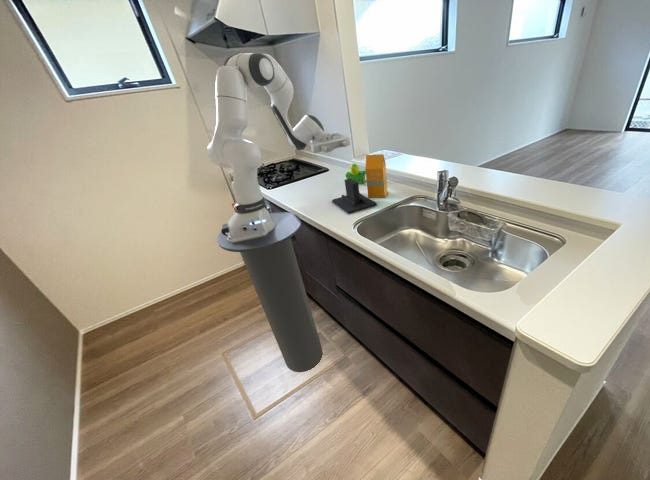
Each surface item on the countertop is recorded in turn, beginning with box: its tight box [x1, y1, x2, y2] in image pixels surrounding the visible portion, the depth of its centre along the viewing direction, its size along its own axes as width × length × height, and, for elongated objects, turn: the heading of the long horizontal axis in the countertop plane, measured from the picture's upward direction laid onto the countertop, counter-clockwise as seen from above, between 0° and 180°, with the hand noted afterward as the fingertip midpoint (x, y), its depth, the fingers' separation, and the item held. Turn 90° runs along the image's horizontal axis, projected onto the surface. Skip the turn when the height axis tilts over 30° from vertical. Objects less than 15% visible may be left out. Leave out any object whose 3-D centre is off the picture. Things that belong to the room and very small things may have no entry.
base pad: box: [332, 192, 378, 215], centre depth 147 cm, size 15×20×3 cm
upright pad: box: [344, 178, 361, 204], centre depth 145 cm, size 3×9×10 cm, turn 29°
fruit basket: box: [345, 163, 366, 184], centre depth 172 cm, size 11×9×11 cm
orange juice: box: [364, 153, 388, 199], centre depth 149 cm, size 8×9×20 cm
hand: (336, 146), depth 143 cm, fingers open, 8 cm apart
